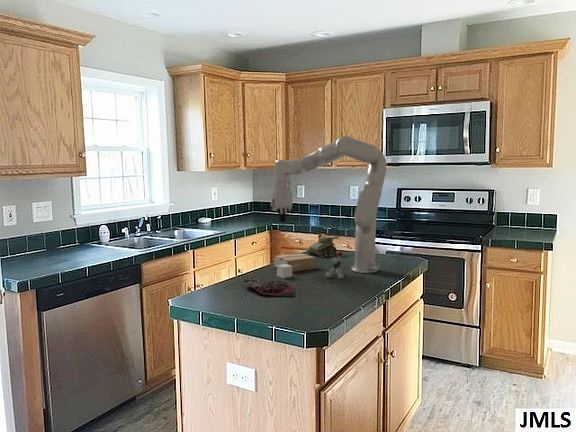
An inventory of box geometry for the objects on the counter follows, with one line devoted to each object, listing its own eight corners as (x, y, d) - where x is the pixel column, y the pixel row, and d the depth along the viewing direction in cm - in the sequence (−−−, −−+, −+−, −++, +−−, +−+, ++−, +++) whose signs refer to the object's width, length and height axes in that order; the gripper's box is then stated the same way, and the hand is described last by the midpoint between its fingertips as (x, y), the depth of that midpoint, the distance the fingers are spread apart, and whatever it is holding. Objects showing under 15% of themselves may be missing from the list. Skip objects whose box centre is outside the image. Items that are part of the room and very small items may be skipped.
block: (292, 276, 221) (292, 265, 220) (283, 278, 218) (283, 267, 217) (286, 274, 225) (286, 263, 224) (277, 275, 222) (277, 265, 222)
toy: (344, 253, 273) (344, 236, 272) (319, 258, 262) (319, 239, 261) (331, 251, 281) (332, 234, 280) (307, 255, 270) (307, 237, 269)
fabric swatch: (246, 283, 209) (246, 276, 209) (295, 285, 209) (295, 278, 208) (240, 296, 190) (240, 288, 189) (294, 298, 189) (294, 290, 189)
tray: (311, 266, 238) (311, 259, 237) (286, 269, 230) (286, 262, 229) (298, 261, 247) (298, 255, 246) (274, 265, 239) (274, 258, 238)
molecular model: (324, 278, 219) (325, 255, 218) (331, 272, 230) (331, 250, 229) (342, 279, 216) (343, 256, 215) (348, 273, 228) (348, 251, 226)
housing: (315, 268, 238) (315, 257, 237) (290, 272, 229) (290, 261, 229) (299, 262, 249) (299, 252, 248) (274, 266, 241) (274, 255, 240)
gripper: (290, 184, 245) (290, 220, 248) (265, 185, 237) (265, 222, 240) (299, 184, 239) (298, 221, 242) (273, 185, 231) (273, 224, 233)
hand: (282, 221), depth 241 cm, fingers closed
